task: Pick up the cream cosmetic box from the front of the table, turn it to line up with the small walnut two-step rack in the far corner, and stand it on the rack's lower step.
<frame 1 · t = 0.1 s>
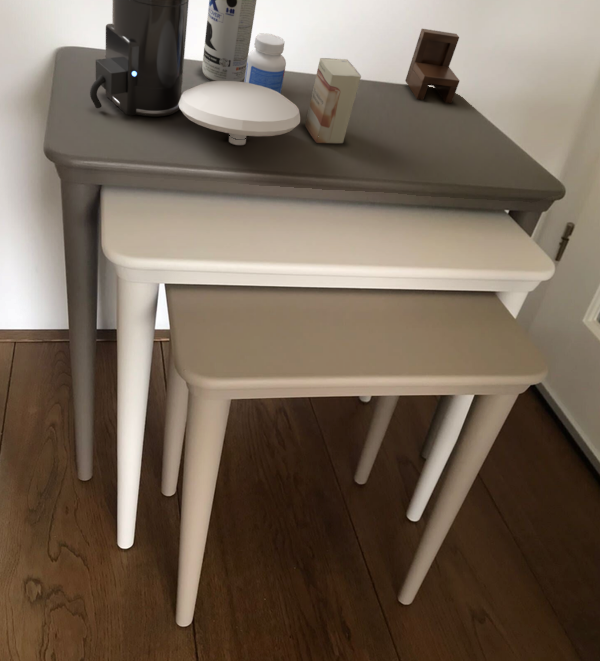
cream cosmetic box: (323, 136, 95), on the table
pill bottle: (259, 107, 97), on the table
spray can: (223, 76, 103), on the table
white domed disc: (242, 86, 84), point 7 cm above the table
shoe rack: (427, 91, 115), on the table
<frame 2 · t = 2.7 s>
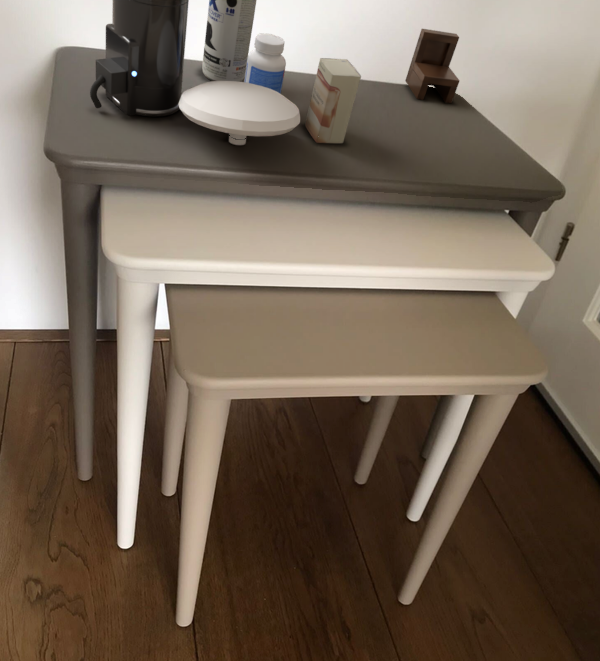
nothing on the table moved.
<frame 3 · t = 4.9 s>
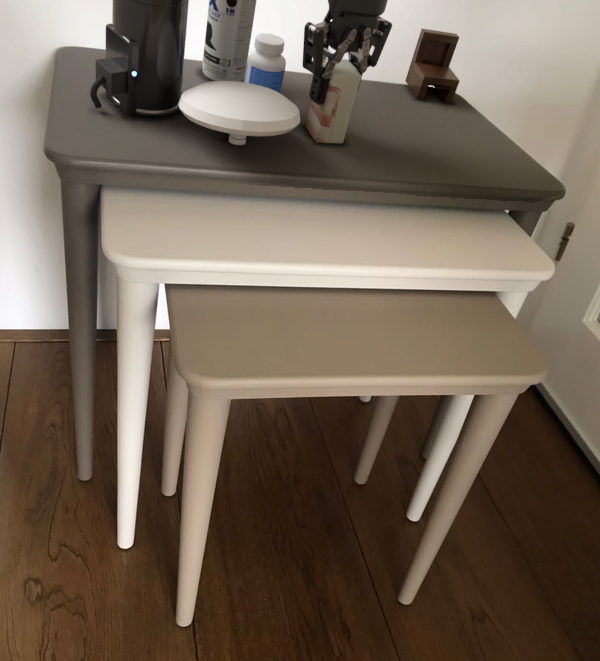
hand: (332, 98, 91), 5 cm above the table, tool pointing down, fingers closed on cream cosmetic box, 5 cm apart
cream cosmetic box: (323, 136, 95), on the table, touching gripper
everything else where it was.
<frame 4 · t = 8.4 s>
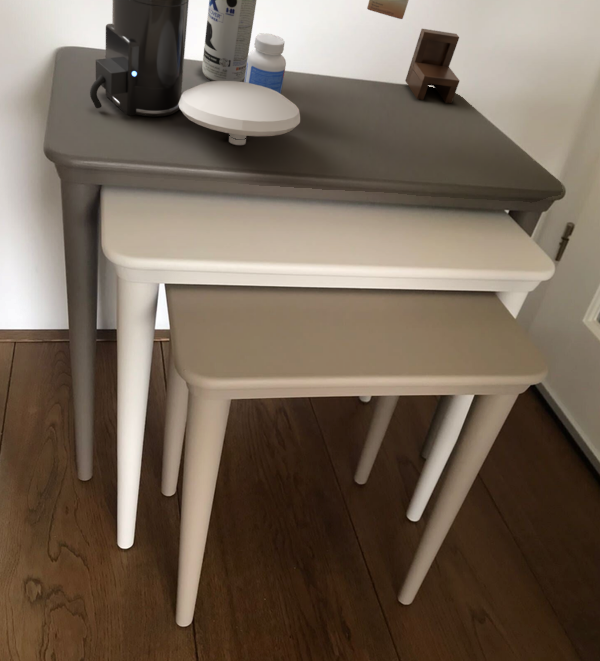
cream cosmetic box: (386, 12, 89), point 16 cm above the table, touching gripper
everything else where it was.
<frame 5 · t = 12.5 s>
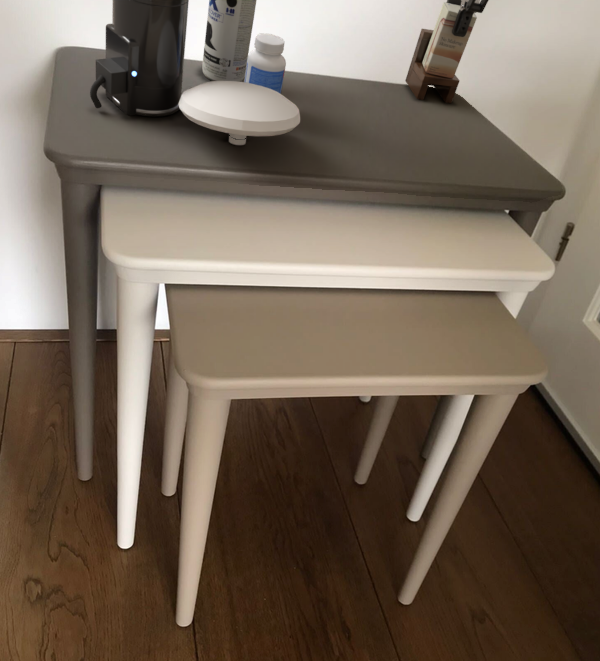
hand: (452, 28, 107), 11 cm above the table, tool pointing down, fingers closed on cream cosmetic box, 4 cm apart
cream cosmetic box: (437, 72, 112), point 4 cm above the table, touching gripper, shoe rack
everything else where it was.
when the fingers open (11 cm above the table, at t = 12.6 s): cream cosmetic box stays where it is, resting on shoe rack.
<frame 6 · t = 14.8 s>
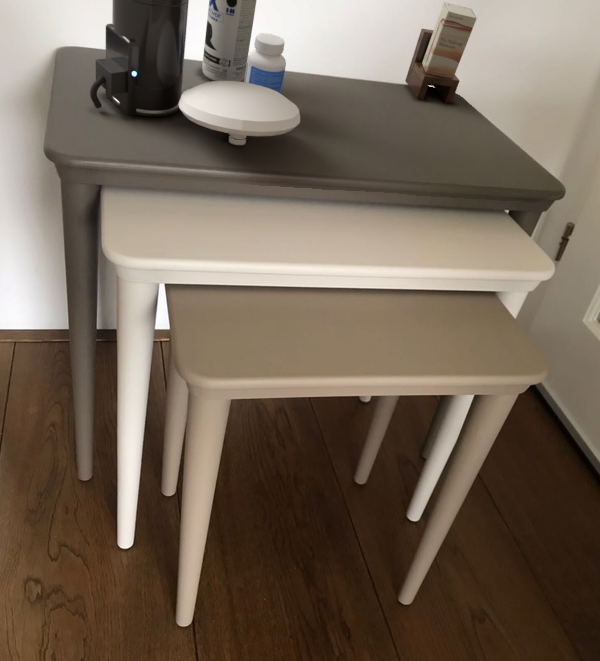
cream cosmetic box: (437, 72, 112), point 4 cm above the table, touching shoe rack
everything else where it was.
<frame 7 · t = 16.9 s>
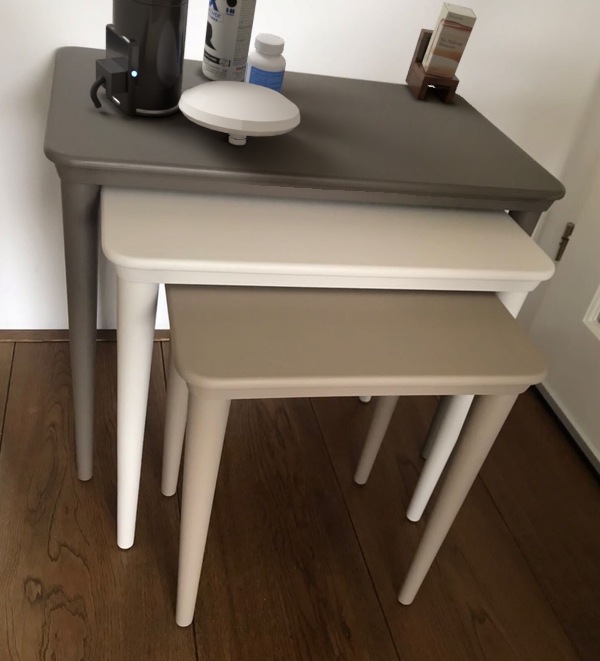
nothing on the table moved.
at the end: cream cosmetic box 0.1 cm from the target spot, point 3.8 cm above the table; cream cosmetic box tilted 0°; the gripper is holding nothing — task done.
